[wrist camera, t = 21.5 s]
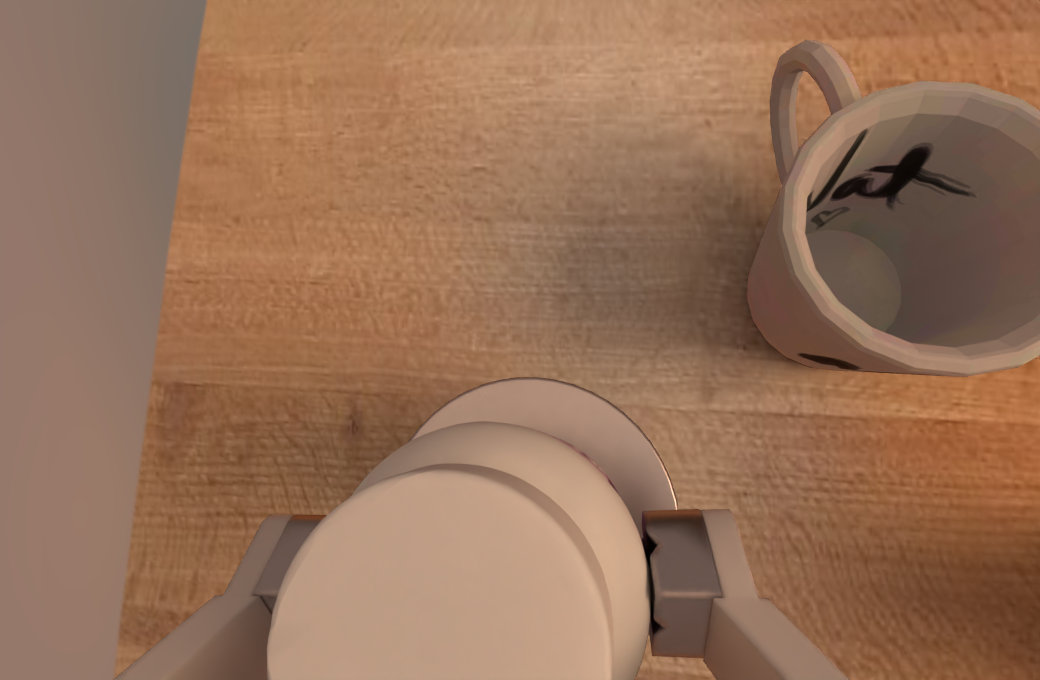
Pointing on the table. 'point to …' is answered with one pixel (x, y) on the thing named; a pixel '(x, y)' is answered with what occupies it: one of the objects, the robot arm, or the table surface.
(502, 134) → the table surface
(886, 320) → the mug
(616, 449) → the copper canister
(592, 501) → the pill bottle
